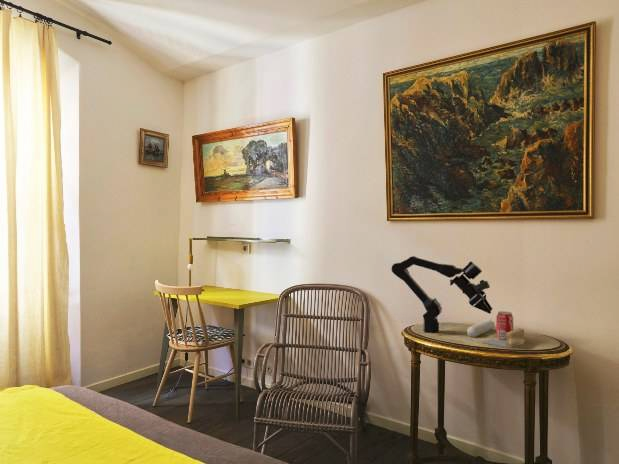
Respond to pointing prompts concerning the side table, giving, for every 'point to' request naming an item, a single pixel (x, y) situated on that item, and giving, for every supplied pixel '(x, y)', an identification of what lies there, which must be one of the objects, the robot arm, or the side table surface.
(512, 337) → the backstop
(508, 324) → the soda can
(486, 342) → the mat
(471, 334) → the tube
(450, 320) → the side table surface
